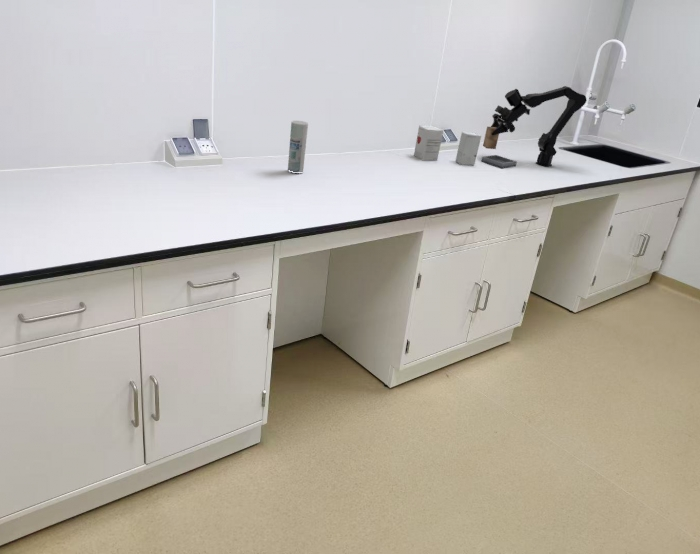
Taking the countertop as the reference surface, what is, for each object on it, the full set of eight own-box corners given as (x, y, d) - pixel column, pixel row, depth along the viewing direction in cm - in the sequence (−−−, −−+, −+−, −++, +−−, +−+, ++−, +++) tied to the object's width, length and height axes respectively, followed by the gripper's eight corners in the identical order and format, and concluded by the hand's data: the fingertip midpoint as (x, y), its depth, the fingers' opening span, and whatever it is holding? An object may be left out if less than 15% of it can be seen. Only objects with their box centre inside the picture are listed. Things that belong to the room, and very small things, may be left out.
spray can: (284, 171, 235) (288, 121, 227) (293, 168, 241) (297, 119, 232) (297, 175, 233) (302, 125, 224) (306, 172, 238) (311, 123, 230)
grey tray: (515, 166, 296) (516, 161, 295) (501, 168, 288) (502, 163, 287) (495, 159, 304) (496, 154, 303) (481, 161, 296) (482, 156, 295)
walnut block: (491, 146, 302) (496, 127, 298) (495, 149, 297) (500, 129, 293) (482, 145, 301) (487, 126, 297) (486, 148, 297) (490, 128, 292)
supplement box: (413, 155, 289) (418, 124, 283) (428, 155, 293) (434, 125, 287) (422, 160, 282) (428, 129, 276) (437, 160, 286) (443, 130, 280)
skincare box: (460, 164, 284) (466, 134, 278) (454, 161, 289) (461, 131, 283) (475, 165, 287) (482, 135, 281) (469, 162, 292) (476, 132, 286)
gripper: (500, 97, 298) (475, 117, 300) (514, 104, 281) (488, 125, 284) (510, 114, 303) (486, 133, 305) (525, 122, 286) (499, 142, 289)
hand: (489, 133), depth 296 cm, fingers closed on walnut block, 5 cm apart
